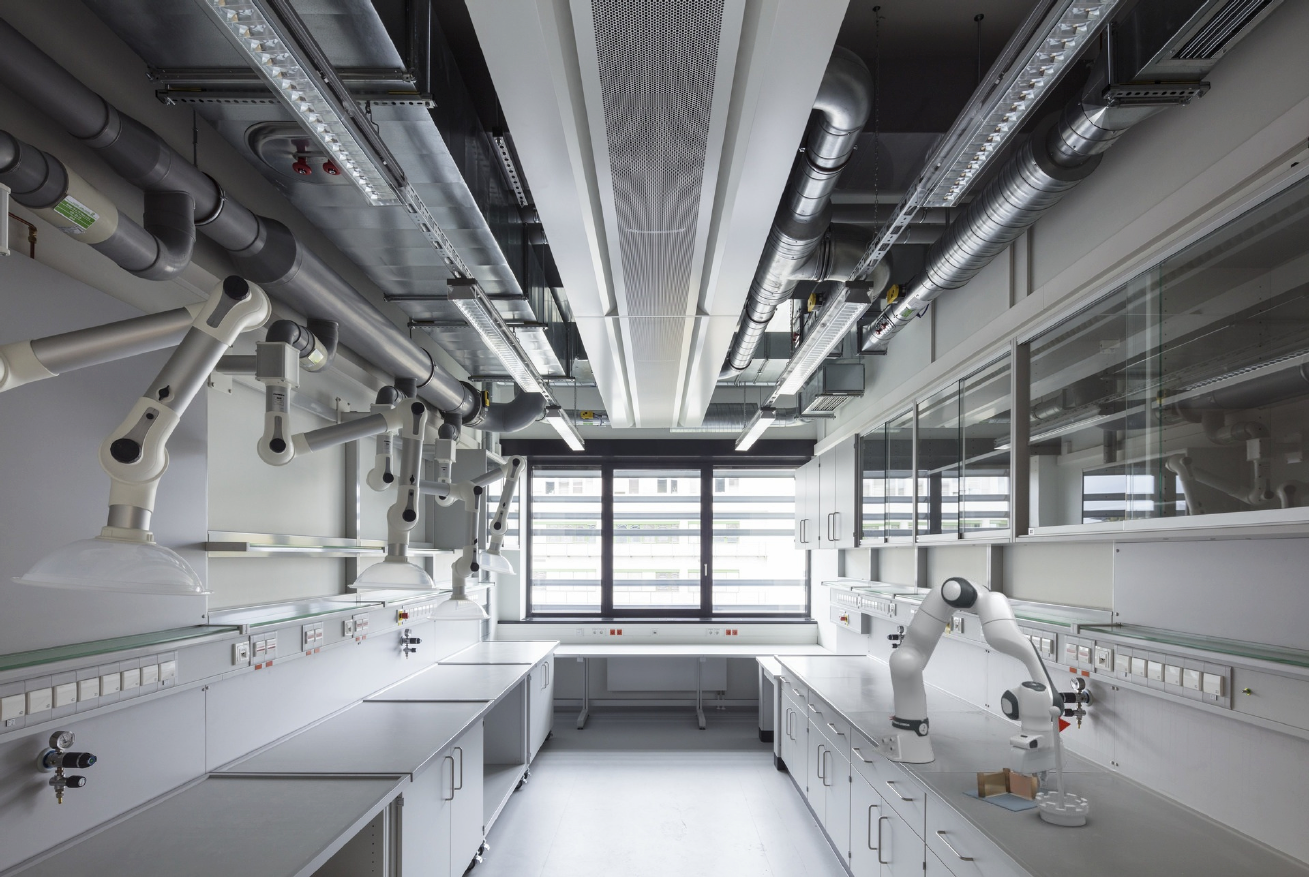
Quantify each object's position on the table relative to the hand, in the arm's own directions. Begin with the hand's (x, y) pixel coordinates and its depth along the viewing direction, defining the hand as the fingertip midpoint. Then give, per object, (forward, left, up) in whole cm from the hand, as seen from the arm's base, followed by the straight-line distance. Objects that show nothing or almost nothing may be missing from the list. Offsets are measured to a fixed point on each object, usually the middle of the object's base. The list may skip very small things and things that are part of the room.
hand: (1041, 785), depth 236 cm
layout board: (-4, -7, -3) cm, 8 cm away
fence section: (-1, -6, -2) cm, 7 cm away
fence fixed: (-7, -12, -3) cm, 14 cm away
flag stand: (+16, -12, -3) cm, 20 cm away
